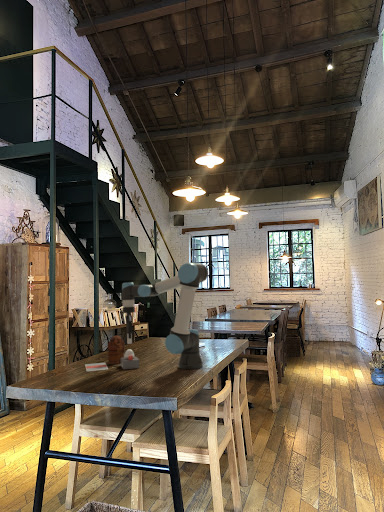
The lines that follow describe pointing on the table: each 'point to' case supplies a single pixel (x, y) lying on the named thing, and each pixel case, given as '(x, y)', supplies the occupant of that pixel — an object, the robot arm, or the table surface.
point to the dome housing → (130, 362)
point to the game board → (96, 367)
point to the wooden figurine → (115, 350)
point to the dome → (128, 354)
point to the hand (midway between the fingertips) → (129, 343)
